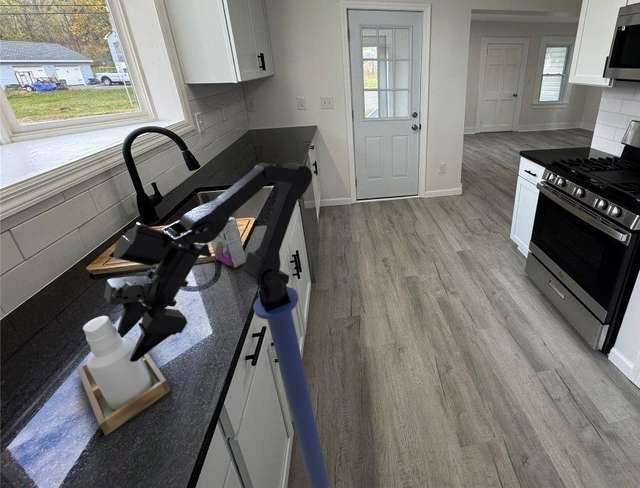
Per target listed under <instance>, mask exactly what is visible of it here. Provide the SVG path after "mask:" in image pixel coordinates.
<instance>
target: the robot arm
mask: <svg viewBox="0 0 640 488" xmlns="http://www.w3.org/2000/svg"><path fill="white" fill-rule="evenodd" d="M312 181H313V173H312V170H311V169H310V167H309V166H307V165H303V164H298V163H295V162H286V163H284V164H275V163H266V162H260V163H257V164H256V165H255V166H254V168H253V169H252V170H250V171H249V172H248V173H246V174H245V175H243V176H242V178H240V179H239V180H238V181H236V182H235V183H234V184H233V185H232V186H230V187H229V188H228V189H226V190H225V191H224V192H222V194H220V195H219V196H218V197H216V198H215V199H212V200H211V201H209V202H206V203H204V204H200V205H198V206H197V207H195V208H193V209H191V210H190V211H188V212H186V213H185V214H183V216H181V217H180V219H179V220H177V221H174V222H173V223H171V224H169V225H167V226H165V227H162V228H161V229H156V228H153V227H151V226H150V227H149V226H148V225H146V224H144V223H141V222H136V223H135V225H134V226H133V227H132V228H130V229H128V230H127V231H126V232H125V233H124V234H123V235H121V236H120V237H119V238H118V241H117V243H116V245H115V247H114V249H113V258H114V259H116V260H121V261H126V262H129V263H135V264H139V265H144V266H149V267H150V269H148V270H146V272H145V273H144V275H140V276H137V275H133V276H132V275H131V276H122V277H113V278H109V279H107V280H106V284H105V290H104V294H103V298H104V299H105V300H106V301H107V304H108V305H110V306H117V305H118V306H119V305H122V312H121V316H120V320H119V322H118V327H117V329H116V330H117V332H118V333H119V334H120V336H121V338H122V337H125V336H126V335H127V334H128V333H129V332H130V331H131V330H132V329H133V328H134V327H135V326H136V325H137V324H138V326H139V329H140V331H141V333H140V336H139V337H138V342H137V344H136V346H135V348H134V350H133V353H132V355H131V358H130V361H131V362H136V361H138V360H139V359H140V358H141V357H143V356H144V355H145V354H146V353H148V354H149V352H150V351H151V350H153V349H154V348H155V347H157V346H158V345H160V343H162V342H163V341H166V340H167V339H168V338H169V337H171V336H175V335H177V334H182V333H183V331H184V329H185V328H186V326H187V325H188V322H189V321H188V319H187V318H186V316H185V314H183V312H181V311H180V310H179V309H174V308H175V307H176V305H177V304H178V301H177V300H176V299H175V298H176V296H177V295H178V293H179V291H180V290H181V288H187V287H188V285H189V283H190V282H189V281H188V280H186V279H187V278H188V276H189V274H190V273H191V271H192V269H193V267H194V266H195V264H196V263H197V261H198V260H199V258H200V256H203V257H206V258H211V257H212V253H211V251H210V248H209V247H210V246H209V243H211V241H213V240H214V239H215V238H216V237H217V236H218V235H219V234H220V233H221V231H222V230H223V229H224V228H225V227H226V225H227V223H228V220H229V218H230V217H233V215H234V214H235V213H236V212H237V211H238V210H240V208H242V207H243V206H244V205H245V204H246V203H248V202H249V201H250V200H251V199H252V198H253V197H254V196H255V195H257V194H258V193H259V192H261V190H262V189H264V188H265V187H266V186H267V185H268V184H269V183H270V182H277V183H276V184H277V190H278V194H277V197H276V200H275V203H274V205H273V208H272V212H271V214H270V217H269V220H268V222H267V226H266V228H265V231H264V234H263V236H262V239H261V242H260V245H259V247H257V249H256V250H254V251H248V253H246V262H245V263H243V264H242V268H244V269H243V274H244V276H245V277H246V278H247V279H248V280H250V281H251V282H253V283H254V284H256V285H258V288H257V290H256V291H257V294H258V297H259V299H260V302H261V305H262V307H264V308H265V311H266V312H269V311H271V310H273V309H276V308H278V307H281V306H283V305H286V304H288V303H290V302H291V300H290V298H289V296H288V291H287V287H288V286H287V285H288V284H289V281H290V275H289V274H287V273H286V272H284V271H283V270H281V266H282V265H281V264H282V263H281V256H280V255H281V254H280V251H281V248H282V245H283V242H284V239H285V237H286V234H287V231H288V227H289V225H290V223H291V220H292V216H293V213H294V211H295V208H296V205H297V202H298V200H299V199H300V198H301V197H302V196H303V195H304V194H305V193H306V192H307V190H308V188H309V187H310V185H311V184H312V183H311V182H312ZM154 265H156V267H155V268H151V267H152V266H154ZM168 307H171V308H168ZM140 321H141V322H140Z"/></svg>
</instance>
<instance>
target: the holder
mask: <svg viewBox="0 0 640 488" xmlns="http://www.w3.org/2000/svg"><path fill="white" fill-rule="evenodd" d="M130 338H131V339H133V340H134V342H135V344H137V342H138V340H139V337H137V335H134V336H132V337H130ZM142 359H143V361H144V363H145V365H146V367H147V369H148V371H149V374H150V376H151V378H152V380H153V385H152V387H151V388H149V389H148V390H146V391H145V392H143V393H142V394H140V395H139V396H137V397H136V398H134V399H133V400H131V401H130V402H128V403H127V404H125V405H124V406H122V407H121V408H119V409H118V410H113V409H112V408H110V407H109V405H108V403H107V401H106V400H105V398H104V396H103V394H102V392H101V391H100V389H99V387H98V385H97V384H96V382H95V380H94V378H93V377H92V375H91V373H90V371H89V370H88V368H87V365H86V363H87V361H86V362H84V363H82V364H80V365H78V366H76V371H77V373H78V375H79V377H80V381H81V382H82V385H83V388H84V391H85V393H86V395H87V398H88V400H89V403H90V406H91V408H92V410H93V413H94V415H95V418H96V420H97V424H98V426H99V427H100V429H101V430H102V432H103V434H104V435H105V436H106V437H107V435H110V434H111V433H112V432H114V431H115V430H116V429H117V428H119V427H121V426H122V425H123V424H124V423H126V422H127V421H129V420H131V419H132V418H133V417H135V416H136V415H138V414H139V413H141V412H142V411H143V410H145V409H146V408H148V407H149V406H150V405H152V404H153V403H155V402H157V401H158V400H160V399H161V398H162V397H164V396H165V395H167V394H169V392H171V390H172V389H171V387H170V385H169V383H168V380H167V379H166V378H165V376H164V375H163V373H162V372H161V370H160V369H159V367H158V366H157V364H156V362H155V361H154V360H153V359H152V356H151V355H150V354H149V352H148V353H146V354H145V355H144V356H143V357H142Z"/></svg>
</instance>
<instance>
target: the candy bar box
mask: <svg viewBox="0 0 640 488" xmlns="http://www.w3.org/2000/svg"><path fill="white" fill-rule="evenodd" d="M210 245H211V247H212V250H213V253H214V257H215V259H216V260H217V261H218V262H221V263H223V264H224V265H227V266H228V267H230V268H232V269H236V268H238V267H240V266H243V265H244V263H245V262H246V259H247V255H246V252H245V249H244V244H243V241H242V238H241V234H240V230H239V226H238V223H237V220H236V218H235V217H233V216H231V217H230V218H229V220H228V223H227V225H226V227H225V228H224V229H223V230H222V231H221V233H220V234H219V235H218V236H217V237H216V238H215V239H214V240H213V241H211V242H210Z"/></svg>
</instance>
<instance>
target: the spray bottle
mask: <svg viewBox="0 0 640 488" xmlns="http://www.w3.org/2000/svg"><path fill="white" fill-rule="evenodd" d="M82 330H83V332H84V334H85V340H86V342H87V344H88V345H89V348H90V351H91V354H90V355H89V356H88V358H87V359H86V362H87V363H86V362H85V363H86V365H87V368H88V370H89V371H90V373H91V375H92V377H93V378H94V380H95V382H96V384H97V385H98V387H99V389H100V391H101V392H102V394H103V396H104V398H105V400H106V401H107V403H108V405H109V407H110V408H112V409H113V410H118V409H119V408H121V407H122V406H124V405H125V404H127V403H128V402H130V401H131V400H133V399H134V398H136V397H137V396H139V395H140V394H142V393H143V392H145V391H146V390H148V389H149V388H151V387H152V385H153V380H152V378H151V376H150V374H149V371H148V369H147V367H146V365H145V363H144V361H143V359H142V357H141V358H140V359H139V360H138V361H136V362H131V361H130V358H131V355H132V353H133V350H134V348H135V346H136V344H135V342H134V340H133V339H131V338H132V337H125V336H124V337H122V338H121V336H120V334H119V333H118V332H117V330H118V329H117V328H116V326H115V324H113V322H111V320H110V317H109V315H101V316H98V317H95V318H93V319H91V320H89V321H87V322H86V323H85V324H84V325H83V326H82Z"/></svg>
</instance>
